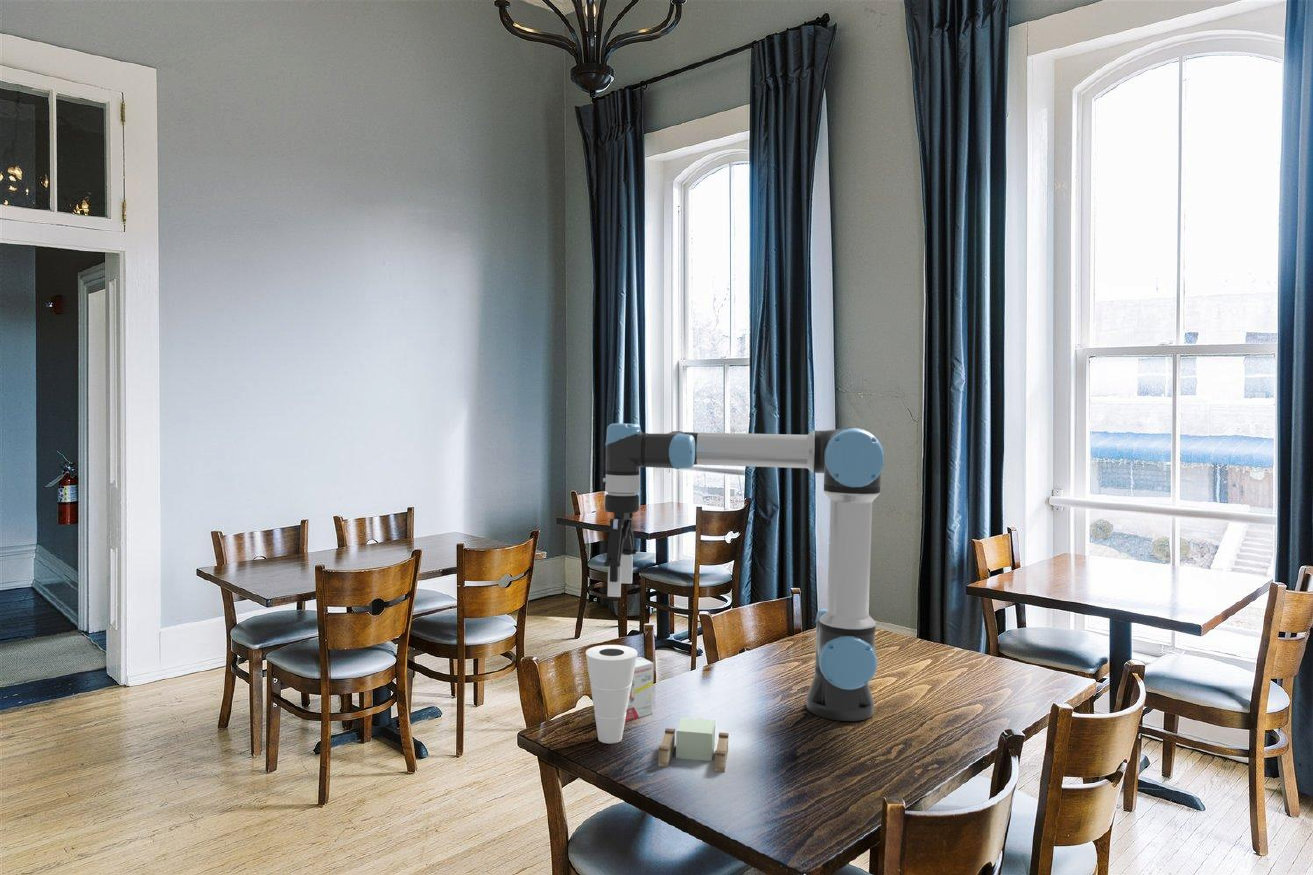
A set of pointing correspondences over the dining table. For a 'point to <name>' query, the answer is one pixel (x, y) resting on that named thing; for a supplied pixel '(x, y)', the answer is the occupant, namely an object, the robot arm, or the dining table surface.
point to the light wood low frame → (669, 744)
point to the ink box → (641, 690)
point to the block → (695, 739)
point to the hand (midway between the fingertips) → (620, 589)
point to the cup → (610, 687)
